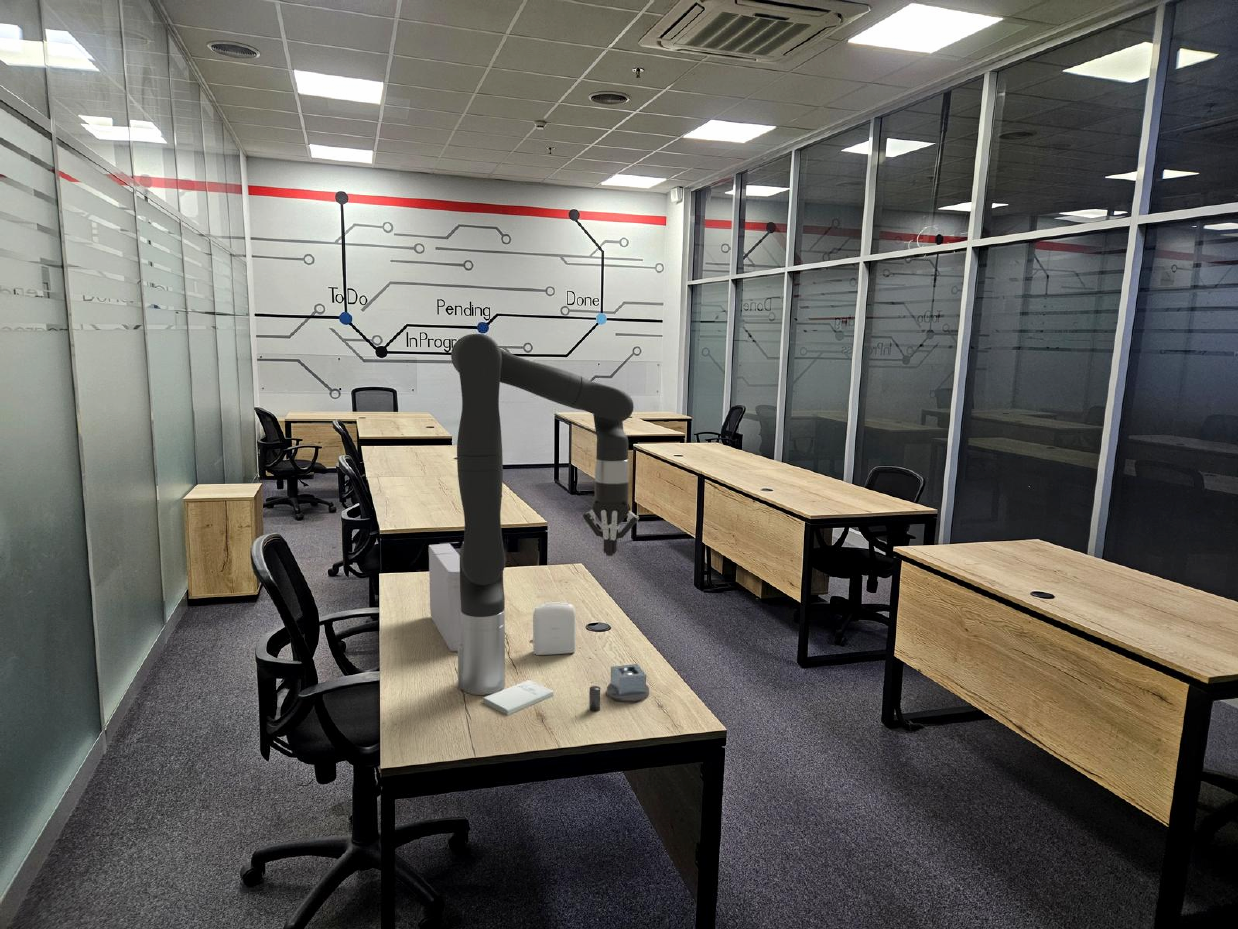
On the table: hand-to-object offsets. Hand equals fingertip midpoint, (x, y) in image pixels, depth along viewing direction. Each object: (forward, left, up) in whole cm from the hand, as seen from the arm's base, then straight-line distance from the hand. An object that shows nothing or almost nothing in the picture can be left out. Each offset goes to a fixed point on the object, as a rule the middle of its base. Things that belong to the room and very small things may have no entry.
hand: (610, 555), depth 171 cm
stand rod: (+2, -20, -27) cm, 34 cm away
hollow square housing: (+7, -11, -26) cm, 29 cm away
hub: (+7, -11, -27) cm, 30 cm away
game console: (-45, +12, -27) cm, 54 cm away
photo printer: (-15, +6, -27) cm, 32 cm away
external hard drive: (-15, -20, -28) cm, 37 cm away
